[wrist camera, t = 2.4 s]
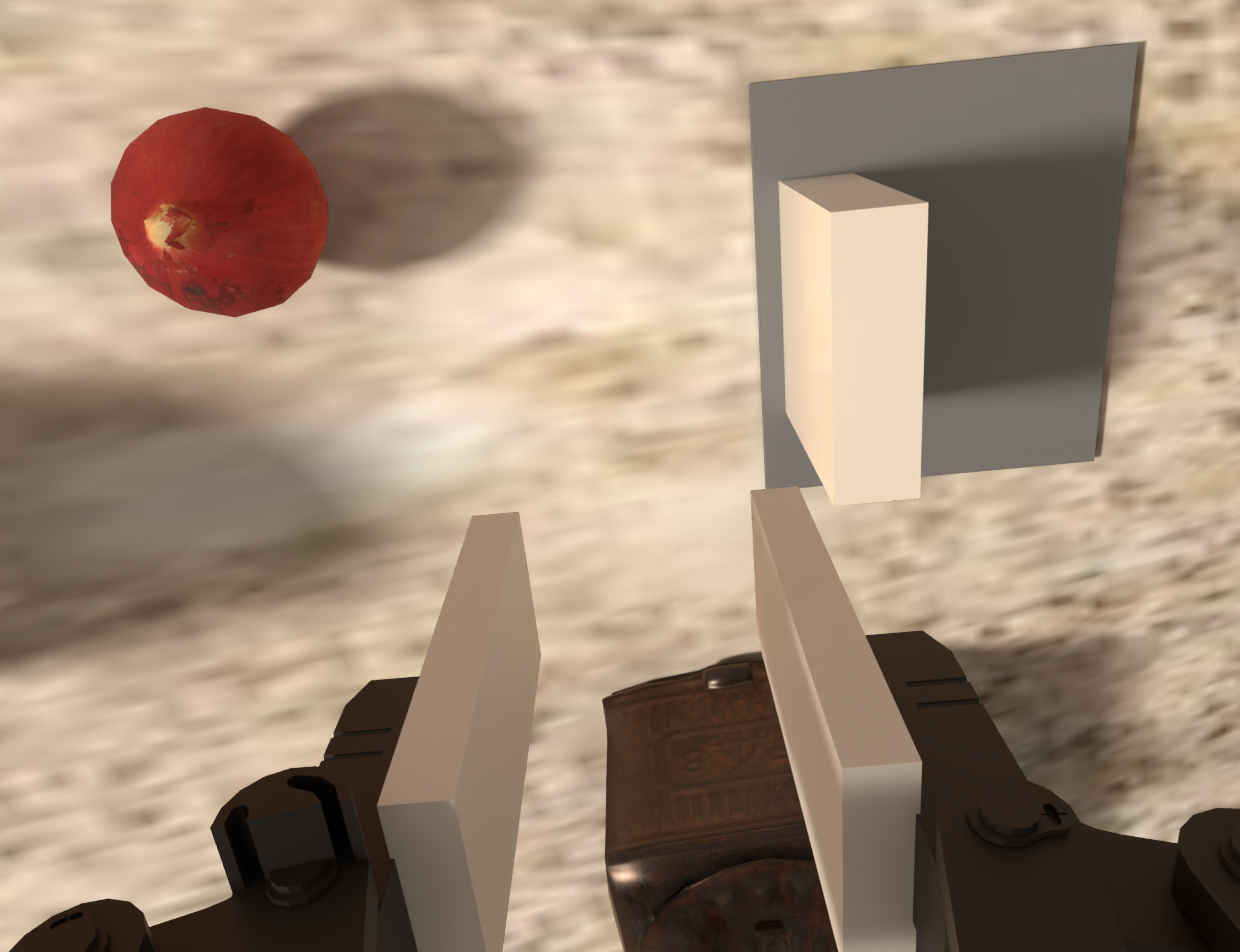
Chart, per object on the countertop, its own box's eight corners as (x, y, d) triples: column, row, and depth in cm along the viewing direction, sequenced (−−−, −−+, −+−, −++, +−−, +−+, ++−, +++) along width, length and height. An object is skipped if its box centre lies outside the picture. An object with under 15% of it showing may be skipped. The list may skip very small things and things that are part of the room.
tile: (854, 173, 30) (930, 202, 23) (854, 406, 34) (921, 497, 26) (778, 180, 31) (830, 212, 23) (785, 412, 34) (833, 505, 26)
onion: (350, 300, 32) (271, 365, 25) (180, 273, 32) (48, 331, 25) (360, 123, 30) (276, 136, 23) (177, 91, 30) (32, 94, 22)
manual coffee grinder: (851, 632, 38) (1036, 1068, 21) (875, 841, 42) (1046, 1340, 25) (476, 696, 39) (371, 1157, 22) (537, 892, 43) (487, 1403, 26)
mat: (1133, 42, 29) (1138, 42, 29) (1090, 457, 35) (1093, 461, 34) (748, 83, 30) (749, 83, 29) (765, 487, 35) (766, 490, 35)
